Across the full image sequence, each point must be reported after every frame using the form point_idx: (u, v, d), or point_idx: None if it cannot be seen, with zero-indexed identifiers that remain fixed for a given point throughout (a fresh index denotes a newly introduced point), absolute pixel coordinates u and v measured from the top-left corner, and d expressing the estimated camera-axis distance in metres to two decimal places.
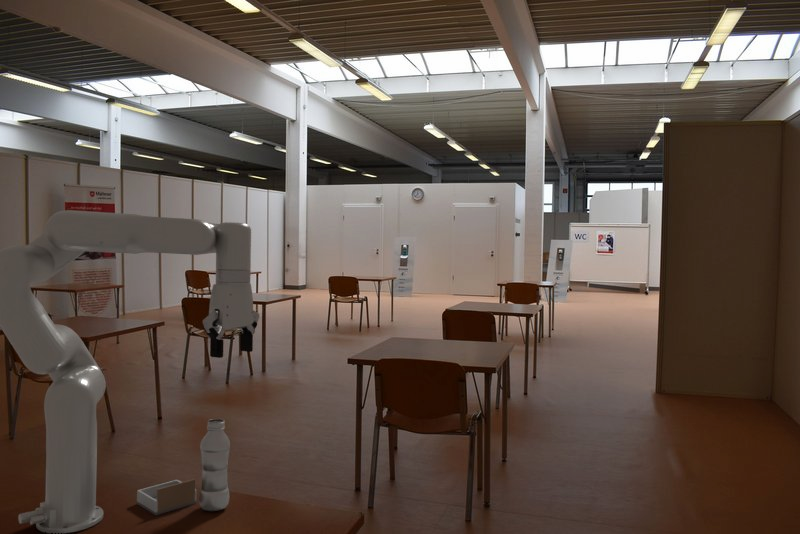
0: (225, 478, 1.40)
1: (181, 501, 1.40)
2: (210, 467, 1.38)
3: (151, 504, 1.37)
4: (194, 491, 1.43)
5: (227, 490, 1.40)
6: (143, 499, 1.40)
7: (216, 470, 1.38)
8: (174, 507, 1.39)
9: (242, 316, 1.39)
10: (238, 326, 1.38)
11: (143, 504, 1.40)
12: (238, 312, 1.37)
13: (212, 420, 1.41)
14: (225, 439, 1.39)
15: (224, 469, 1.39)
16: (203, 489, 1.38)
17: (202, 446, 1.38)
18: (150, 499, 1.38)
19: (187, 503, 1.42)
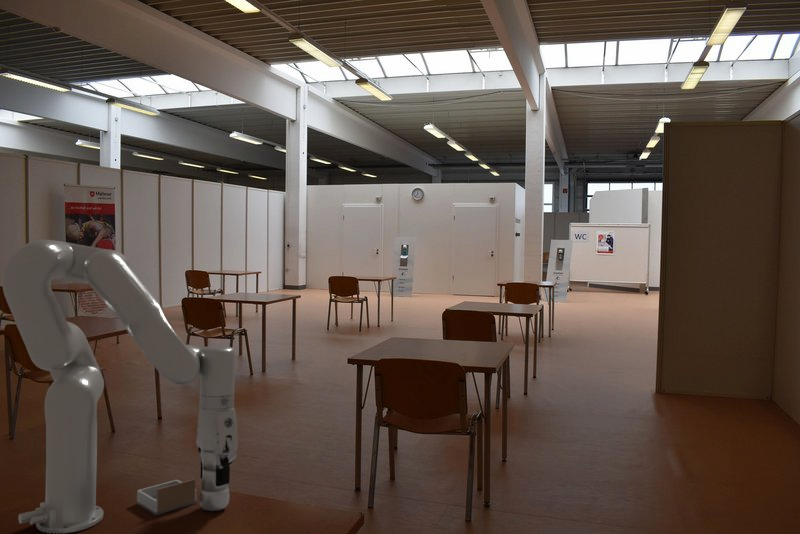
0: None
1: (181, 501, 1.40)
2: (210, 467, 1.38)
3: (151, 504, 1.37)
4: (194, 491, 1.43)
5: (227, 490, 1.40)
6: (143, 499, 1.40)
7: None
8: (174, 507, 1.39)
9: None
10: None
11: (143, 504, 1.40)
12: (204, 435, 1.39)
13: None
14: None
15: None
16: (203, 489, 1.38)
17: (202, 446, 1.38)
18: (150, 499, 1.38)
19: (187, 503, 1.42)
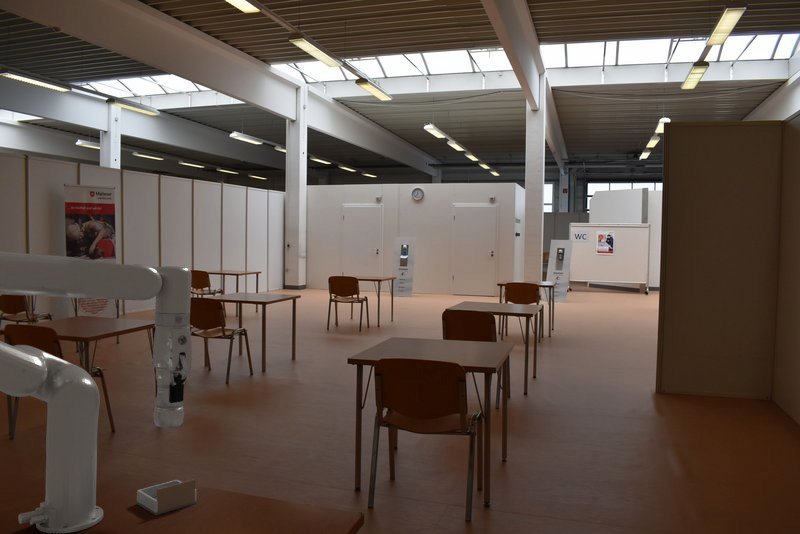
0: None
1: (181, 501, 1.40)
2: (164, 384, 1.39)
3: (151, 504, 1.37)
4: (194, 491, 1.43)
5: (181, 408, 1.42)
6: (143, 499, 1.40)
7: None
8: (174, 507, 1.39)
9: None
10: None
11: (143, 504, 1.40)
12: (159, 353, 1.41)
13: None
14: None
15: None
16: (157, 406, 1.40)
17: (157, 363, 1.40)
18: (150, 499, 1.38)
19: (187, 503, 1.42)
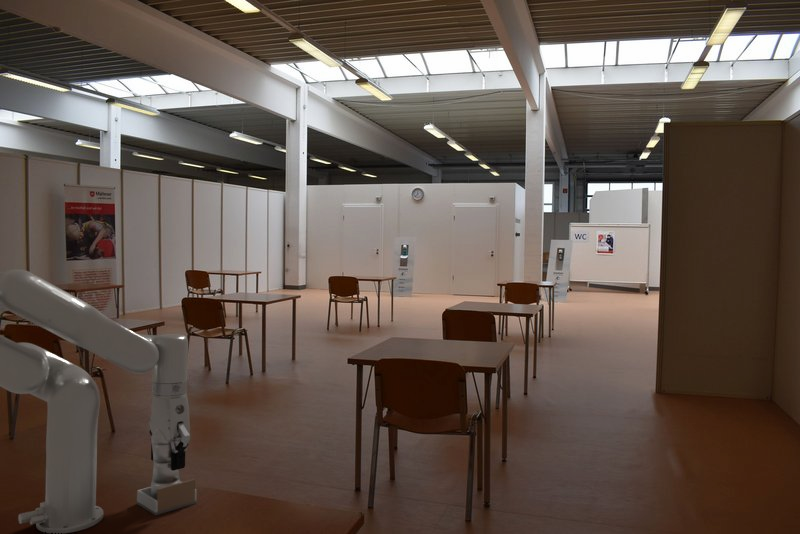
0: (176, 470, 1.42)
1: (181, 501, 1.40)
2: (160, 460, 1.40)
3: (151, 504, 1.37)
4: (194, 491, 1.43)
5: (178, 482, 1.42)
6: (143, 499, 1.40)
7: (167, 462, 1.40)
8: (174, 507, 1.39)
9: (160, 428, 1.40)
10: None
11: (143, 504, 1.40)
12: (157, 422, 1.41)
13: None
14: None
15: None
16: (154, 481, 1.40)
17: (153, 439, 1.40)
18: (150, 499, 1.38)
19: (187, 503, 1.42)
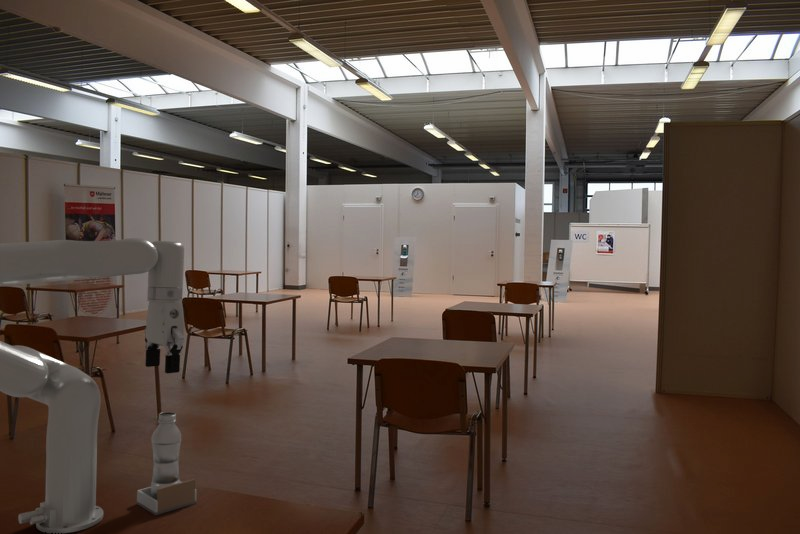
0: (176, 470, 1.42)
1: (181, 501, 1.40)
2: (160, 460, 1.40)
3: (151, 504, 1.37)
4: (194, 491, 1.43)
5: (178, 482, 1.42)
6: (143, 499, 1.40)
7: (167, 462, 1.40)
8: (174, 507, 1.39)
9: (154, 333, 1.40)
10: (154, 342, 1.41)
11: (143, 504, 1.40)
12: (151, 327, 1.41)
13: (164, 413, 1.43)
14: (176, 432, 1.41)
15: (175, 461, 1.41)
16: (154, 481, 1.40)
17: (153, 439, 1.40)
18: (150, 499, 1.38)
19: (187, 503, 1.42)
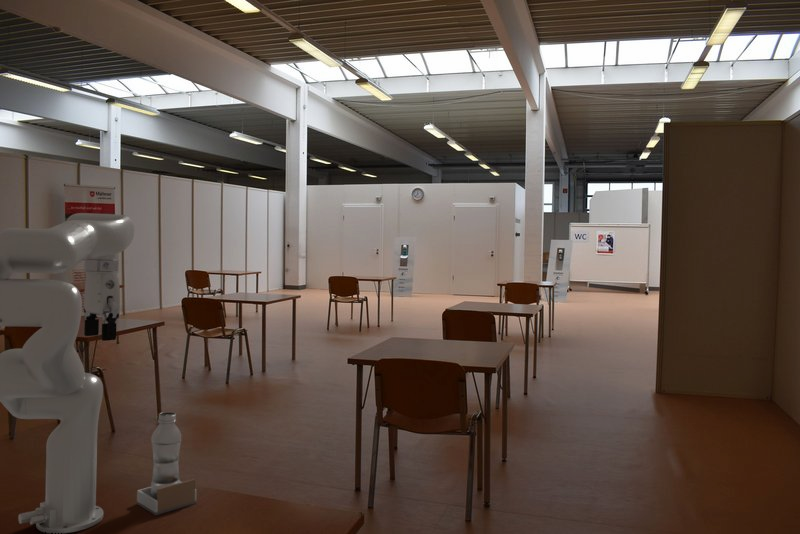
0: (176, 470, 1.42)
1: (181, 501, 1.40)
2: (160, 460, 1.40)
3: (151, 504, 1.37)
4: (194, 491, 1.43)
5: (178, 482, 1.42)
6: (143, 499, 1.40)
7: (167, 462, 1.40)
8: (174, 507, 1.39)
9: (91, 303, 1.48)
10: (91, 311, 1.49)
11: (143, 504, 1.40)
12: (89, 298, 1.49)
13: (163, 413, 1.43)
14: (176, 432, 1.41)
15: (175, 461, 1.41)
16: (154, 481, 1.40)
17: (153, 439, 1.40)
18: (150, 499, 1.38)
19: (187, 503, 1.42)
